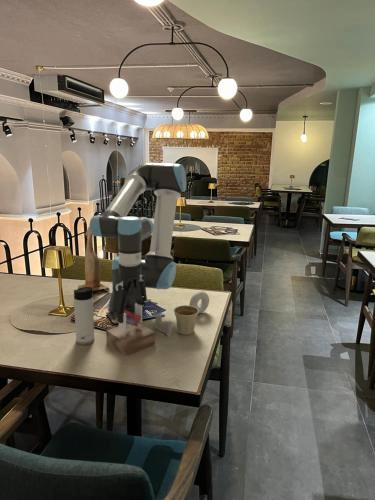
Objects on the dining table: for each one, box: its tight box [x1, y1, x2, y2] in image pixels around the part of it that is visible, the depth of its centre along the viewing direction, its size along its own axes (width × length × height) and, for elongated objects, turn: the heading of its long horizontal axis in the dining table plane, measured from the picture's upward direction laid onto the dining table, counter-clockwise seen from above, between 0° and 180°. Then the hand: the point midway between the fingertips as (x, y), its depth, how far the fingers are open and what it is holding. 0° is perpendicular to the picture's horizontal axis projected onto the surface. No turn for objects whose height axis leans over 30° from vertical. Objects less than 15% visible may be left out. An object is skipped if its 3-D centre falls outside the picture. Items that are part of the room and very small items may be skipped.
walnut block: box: [106, 322, 156, 357], centre depth 130 cm, size 12×12×5 cm
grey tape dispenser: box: [154, 313, 173, 338], centre depth 139 cm, size 6×1×10 cm
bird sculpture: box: [77, 226, 110, 292], centre depth 175 cm, size 11×12×32 cm
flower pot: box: [173, 305, 199, 336], centre depth 139 cm, size 9×9×9 cm
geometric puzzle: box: [124, 308, 143, 329], centre depth 128 cm, size 7×7×8 cm
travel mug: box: [73, 287, 95, 346], centre depth 128 cm, size 6×7×20 cm
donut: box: [188, 290, 210, 315], centre depth 155 cm, size 10×4×10 cm, turn 129°
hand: (130, 325), depth 129 cm, fingers closed on geometric puzzle, 8 cm apart
